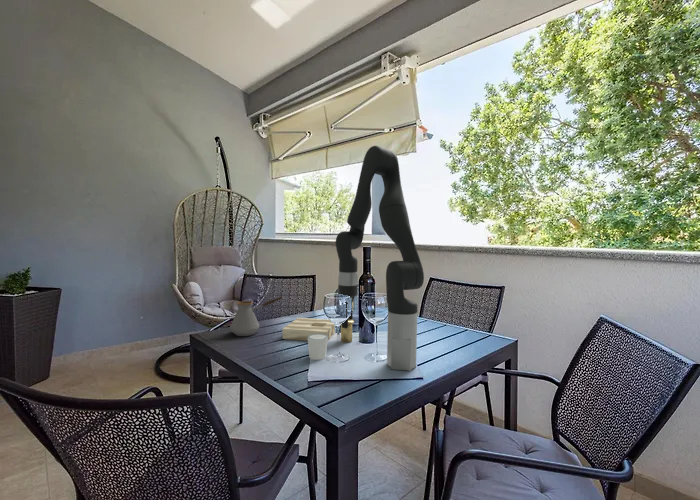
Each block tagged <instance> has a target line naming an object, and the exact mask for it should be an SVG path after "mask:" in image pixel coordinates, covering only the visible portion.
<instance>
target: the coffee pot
mask: <svg viewBox="0 0 700 500" xmlns="http://www.w3.org/2000/svg"><path fill="white" fill-rule="evenodd" d="M279 300H282V302H284V298H283V296H278V297H276V298H274V299H271V300H269V301H267V302H264V303H262V304H261V305H258V306H255V307H252V305H253V304H254V301H251V300H250V301H249V300H242V301H241V300H240V301H238V302H236V305H237V307H238V308H237V310H236V312H235V315H234V318H233V319H232V322H231V325H230V327H229V329H230V331H231V332H232V333H233V334H234V335H235V336H237V337H238V336H239V337H248V336H252V335H254V334H256V332H257V331H258V330H259V328H260V324H259V321H258V319H257V317H256V314H255V313H254V311H256V310H258V309H260V308H263V307H265V306H268V305H271V304H273V303H275V302H276V301H278V302H279Z"/></svg>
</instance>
